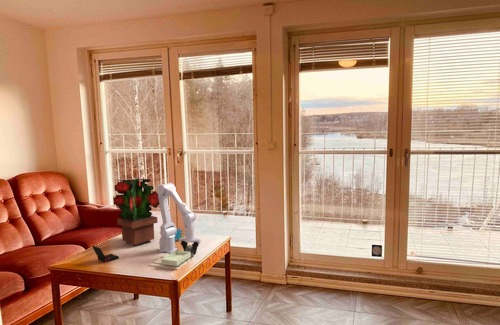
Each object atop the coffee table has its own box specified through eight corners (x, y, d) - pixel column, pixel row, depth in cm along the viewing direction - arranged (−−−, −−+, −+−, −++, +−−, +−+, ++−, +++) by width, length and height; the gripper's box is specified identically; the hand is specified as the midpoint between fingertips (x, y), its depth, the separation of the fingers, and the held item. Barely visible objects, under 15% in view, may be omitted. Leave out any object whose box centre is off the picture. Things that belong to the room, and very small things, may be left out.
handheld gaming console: (119, 258, 206) (118, 243, 205) (100, 265, 196) (99, 248, 195) (111, 255, 211) (110, 240, 211) (92, 261, 202) (91, 245, 201)
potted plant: (115, 243, 235) (112, 180, 231) (143, 235, 252) (140, 176, 248) (132, 250, 221) (128, 182, 217) (161, 241, 237) (158, 178, 233)
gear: (166, 238, 239) (174, 226, 244) (170, 241, 244) (178, 230, 248) (177, 242, 234) (185, 230, 238) (181, 246, 238) (189, 234, 243)
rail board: (149, 265, 193) (149, 263, 193) (163, 256, 206) (163, 255, 206) (177, 269, 187) (177, 267, 187) (190, 260, 200) (190, 258, 200)
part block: (186, 256, 207) (185, 247, 206) (189, 254, 210) (189, 244, 210) (191, 257, 205) (191, 247, 205) (194, 254, 209) (194, 245, 208)
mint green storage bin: (161, 265, 190) (161, 259, 189) (176, 256, 204) (176, 250, 204) (176, 268, 186) (176, 261, 186) (190, 258, 200) (190, 251, 200)
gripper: (175, 232, 205) (176, 254, 206) (196, 234, 200) (197, 256, 201) (182, 229, 212) (182, 250, 213) (202, 231, 207) (203, 252, 208)
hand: (190, 253), depth 208 cm, fingers open, 6 cm apart
